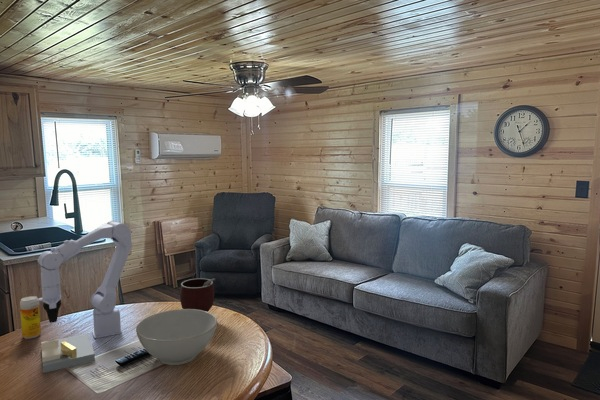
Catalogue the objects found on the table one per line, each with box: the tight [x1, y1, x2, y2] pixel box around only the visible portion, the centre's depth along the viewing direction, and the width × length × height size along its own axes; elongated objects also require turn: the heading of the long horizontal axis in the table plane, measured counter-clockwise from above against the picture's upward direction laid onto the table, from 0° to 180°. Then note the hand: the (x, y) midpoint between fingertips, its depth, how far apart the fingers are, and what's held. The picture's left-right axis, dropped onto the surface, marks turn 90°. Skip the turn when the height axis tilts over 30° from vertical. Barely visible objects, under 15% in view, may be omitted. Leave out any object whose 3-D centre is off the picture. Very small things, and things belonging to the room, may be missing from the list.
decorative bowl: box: [135, 308, 218, 366], centre depth 145 cm, size 27×27×12 cm
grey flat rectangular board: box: [42, 333, 96, 374], centre depth 146 cm, size 15×19×3 cm
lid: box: [40, 338, 60, 363], centre depth 140 cm, size 5×8×4 cm, turn 33°
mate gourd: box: [179, 277, 216, 312], centre depth 173 cm, size 16×14×20 cm
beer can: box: [19, 295, 42, 340], centre depth 160 cm, size 6×6×15 cm
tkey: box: [61, 341, 77, 359], centre depth 138 cm, size 8×2×4 cm, turn 53°
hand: (53, 321), depth 150 cm, fingers closed
